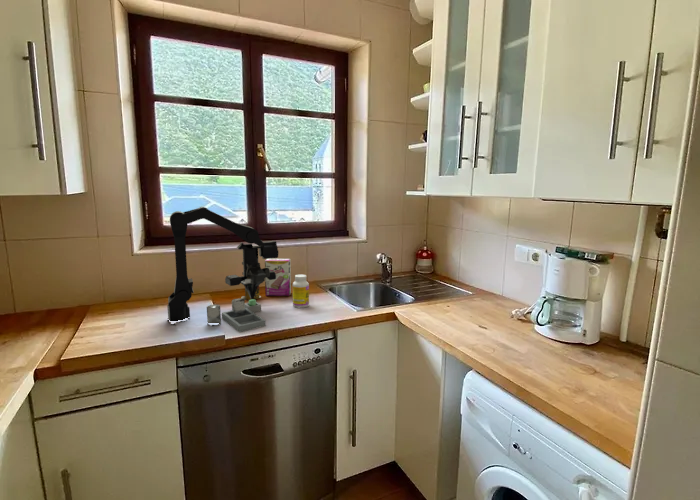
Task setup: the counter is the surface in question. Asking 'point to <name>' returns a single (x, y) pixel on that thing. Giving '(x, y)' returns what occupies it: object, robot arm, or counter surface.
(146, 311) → the counter surface
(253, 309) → the button collar
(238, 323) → the grey divided tray
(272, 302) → the counter surface
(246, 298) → the condiment
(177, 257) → the robot arm
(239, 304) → the seated billet
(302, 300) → the supplement bottle
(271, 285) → the candy bar box
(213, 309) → the billet
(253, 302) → the button
